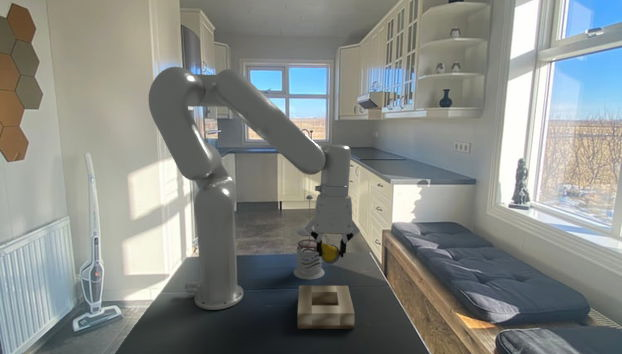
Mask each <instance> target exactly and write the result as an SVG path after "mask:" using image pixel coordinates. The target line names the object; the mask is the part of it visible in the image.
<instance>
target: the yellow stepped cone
mask: <svg viewBox="0 0 622 354" xmlns="http://www.w3.org/2000/svg"><path fill="white" fill-rule="evenodd" d="M321 246H322V256H321V257H322V262H324V263H325V264H328V265H332V264H335V263H336V262H338V261H339V259H340V258H341V256H340V248H339V247H338V246H336V245H335V244H330V245H329V244H328V243H323V242H322V243H321Z"/></svg>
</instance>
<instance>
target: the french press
mask: <svg viewBox="0 0 622 354" xmlns="http://www.w3.org/2000/svg"><path fill="white" fill-rule="evenodd" d="M306 200H309V201H308V203H309V205H308V207H309V209H308V210H309V211H308V212H309V216H308V220H309V221H308V223H309V222H310V221H311V207H310V206H311V200H313V196H312V195H310V194H308V195H307V196H306ZM306 225H307V224H306ZM306 225H302V226H300V227H299V228H297V229H296V233H297V235H299V236H303V237H308V239H301V240H299V241H298V242H297V244H298V246H297V247H296V268H295V269H294V271H293V275H294V276H295V277H297V278H299V279H302V280H316V279H319V278H322V277H323V276H324V275H325V271H324V269H323V268H322V264H323V260H322V257H319V252H317V241H316V240H315V239H312V238H310V237H312V236H311V234H309V233H308V232H307V231H306V230H305V227H306ZM312 229H313V230H314V226H313V227H312ZM314 231H315V230H314ZM315 232H316V231H315ZM316 233H317V232H316ZM323 236H324V237H325V240H326V241H327V242H328V245H331V242H330V239H329V237H328V236H327V235H326V234H323Z"/></svg>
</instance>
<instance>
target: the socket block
mask: <svg viewBox="0 0 622 354" xmlns="http://www.w3.org/2000/svg"><path fill="white" fill-rule="evenodd" d="M349 289H350V288H349V286H348V285H299V286H298V303H297V329H301V330H302V329H305V330H306V329H308V330H309V329H314V330H315V329H316V330H317V329H319V330H320V329H321V330H323V329H328V330H330V329H337V330H338V329H340V330H341V329H345V330H346V329H349V330H351V329H353V330H354V329H355V318H356V317H355V309H354V304H353V301H352V298H351V297H352V296H351V293H350V290H349Z"/></svg>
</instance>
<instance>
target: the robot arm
mask: <svg viewBox="0 0 622 354" xmlns="http://www.w3.org/2000/svg"><path fill="white" fill-rule="evenodd" d="M148 107H149V112H150V115H151V117H152V119H153V121H154V124H155V125H156V128H157V129H158V132H159V133H160V136H161V137H162V139H163V141H164V143H165V146H166V147H167V149H168V151H169V153H170V156H171V157H172V159H173V161H174V163H175V164H176V167H177V169H178V171H179V172H180V174H181V175H182V176H183V177H184V178H185V179H187V180H188V181H193V182H194V181H195V183H196V185H197V187H198V188H199V190H198V191H197V193H196V195H195V199H194V203H193V207H194V210H193V211H194V217H195V221H196V231H197V232H196V233H197V234H196V235H197V245H198V248H197V250H198V267H199V280H197V281H186V282H185V285H184V289H185V290H186V293H190V294H192V293H195V295H194V303H195V304H196V306H197V307H198V308H200V309H204V310H210V311H213V310H214V311H217V310H223V309H227V308H230V307H233V306H235V305H237V304H238V303H239V302H240V301H242V299H243V297H244V289H243V288H242V287H241V285H238V269H237V267H238V266H237V240H236V235H237V233H236V222H235V221H236V220H235V219H236V218H235V204H236V201H237V197H238V189H237V185H236V184H235V182H234V179H233V177H232V175H231V173H230V171H229V170H228V167H227V165H226V164H225V161H224V159H223V158H222V155H221V154H220V152H219V150H218V149H217V148H216V147H215V146H214V145H213V144H212V143H209V142H206V140H205V138H204V137H203V135H202V133H201V132H200V130H199V128H198V125H197V123H196V121H195V120H194V117H193V116H192V115H191V113H190V110H189V107H208V108H209V107H210V108H211V107H216V108H218V107H222V108H223V107H226V108H227V109H228V110H230V111H231V112H232V113H233V114H234V116H237V118H238V119H240V120H241V121H242V122H243V123H244V124H245V125H246V126H248V128H250V129H251V130H252V131H253V132H254V133H255V134H256V135H258V136H259V138H261V139H262V140H264V141H265V142H267V143H268V144H269V145H270V146H272V148H274V149H275V150H276V151H277V152H278V153H279V154H281V156H283V157H284V158H285V159H286V160H287V161H289V163H290V164H291V165H293V166H294V167H295V168H296V169H297V170H299V172H301V173H302V174H304V175H308V176H310V175H311V176H312V175H317V174H318V173H320V172H321V173H320V184H319V185H315V186H314V191H315V192H318V193H319V194H318V195H317V197H316V200H315V208H314V217H313V218H312V220H311V219H310V222H309V221H308V224H306V227H305V230H306V231H307V232H308V233H309V234H311V236H310V237H312V238H313V240H316V241H317V252H319V257H321V256H322V246H321V243H323V239H322V238H323V236H324V235H326V234H327V235H341V240H340V241H339V242H340V244H339V251H340V258H344V255H345V254H347V244H348V242H349V241H350V240H352V239H353V238H354V236H356V235H357V234H359V233H360V228H359V227H358V226H357V224H356V223H355V221H353V202H352V197H351V195H349V186H350V173H351V172H350V171H351V156H352V155H351V153H352V151H351V148H350V147H349V146H348V145H345V144H330V143H329V144H318V143H317V142H315V141H314V140H313V139H311V137H309V136H308V135H307V134H306V133H305V131H303V130H302V129H301V128H300V127H298V126H297V125H296V124H295V123H294V122H293V121H292V120H291V119H290V118H289V117H288V116H287V115H286V114H285V113H284V112H283V111H282V110H281V109H280V108H279V107H278V106H277V105H276V104H275V103H273V101H271V99H270V98H268V97H267V96H266V95H265V94H264V93H263V92H262V91H261V90H259V89H258V87H256V86H255V85H254V84H253V83H252V82H251V81H250V80H249V79H248V78H246V76H245V75H243V74H242V73H241V72H239V70H237V69H231V68H226V69H223V70H220V71H219V72H218V73H217V74H197V73H193V72H192V71H190V70H189V69H186V68H184V67H180V66H170V67H167V68H165V69H164V70H162V71H160V72H159V73H158V74H157V76H155V78H154V80H153V81H152V83H151V85H150V88H149V92H148ZM313 226H314V230H315V231H316V232H317V233H316V232H315V231H314V230H313V229H312V227H313ZM323 234H324V235H323Z"/></svg>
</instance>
